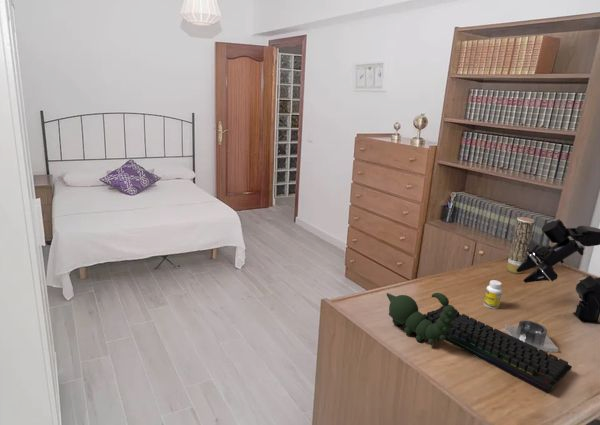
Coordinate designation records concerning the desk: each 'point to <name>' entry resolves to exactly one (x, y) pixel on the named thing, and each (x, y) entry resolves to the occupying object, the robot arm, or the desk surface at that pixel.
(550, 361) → the keyboard
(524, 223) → the bark textured cylinder
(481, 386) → the desk surface
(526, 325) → the cup bracket
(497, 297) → the supplement bottle
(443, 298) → the toy figurine
